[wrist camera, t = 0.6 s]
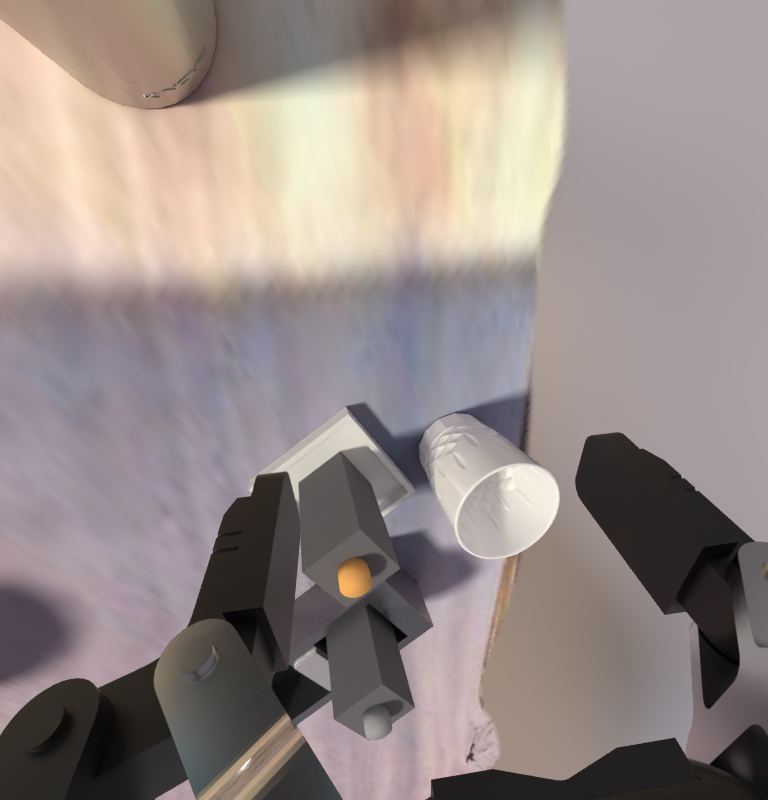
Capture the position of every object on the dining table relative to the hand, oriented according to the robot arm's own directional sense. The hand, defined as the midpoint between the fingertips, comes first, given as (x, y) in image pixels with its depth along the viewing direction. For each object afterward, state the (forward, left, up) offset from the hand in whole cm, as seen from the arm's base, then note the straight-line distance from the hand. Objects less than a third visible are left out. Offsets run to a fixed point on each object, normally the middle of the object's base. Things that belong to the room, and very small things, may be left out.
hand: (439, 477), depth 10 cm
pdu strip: (+22, -20, -21) cm, 37 cm away
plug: (+10, -9, -21) cm, 24 cm away
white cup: (+15, +1, -21) cm, 26 cm away
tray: (+10, -9, -21) cm, 25 cm away
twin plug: (+22, -16, -20) cm, 34 cm away
